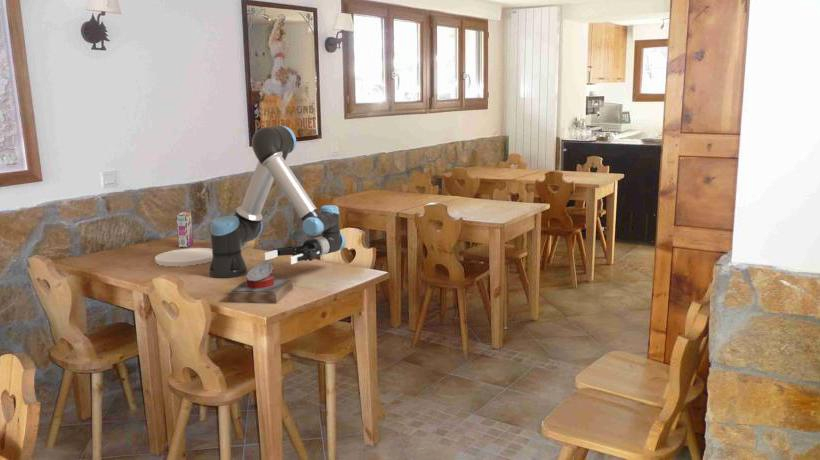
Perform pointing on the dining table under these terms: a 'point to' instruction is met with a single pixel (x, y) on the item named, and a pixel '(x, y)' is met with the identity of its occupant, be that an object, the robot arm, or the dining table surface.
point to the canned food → (260, 276)
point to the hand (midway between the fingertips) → (277, 258)
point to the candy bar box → (184, 229)
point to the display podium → (260, 292)
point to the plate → (184, 257)
